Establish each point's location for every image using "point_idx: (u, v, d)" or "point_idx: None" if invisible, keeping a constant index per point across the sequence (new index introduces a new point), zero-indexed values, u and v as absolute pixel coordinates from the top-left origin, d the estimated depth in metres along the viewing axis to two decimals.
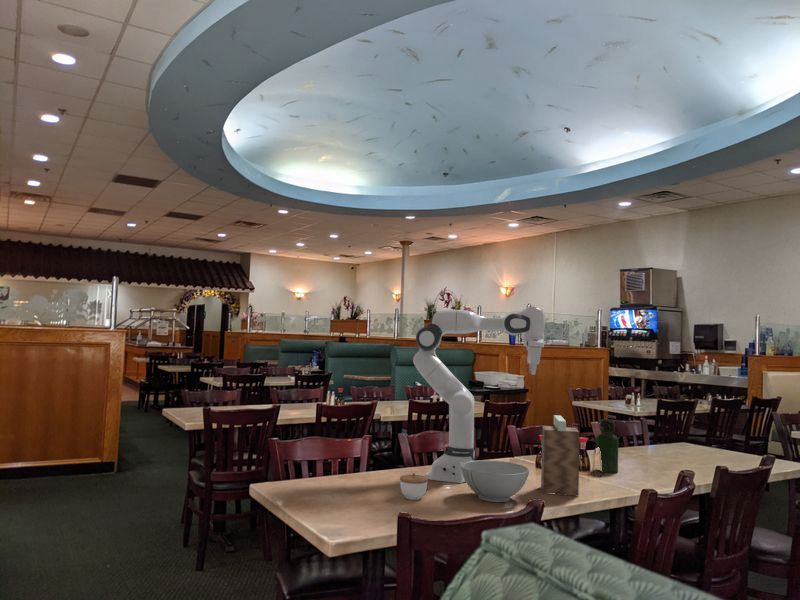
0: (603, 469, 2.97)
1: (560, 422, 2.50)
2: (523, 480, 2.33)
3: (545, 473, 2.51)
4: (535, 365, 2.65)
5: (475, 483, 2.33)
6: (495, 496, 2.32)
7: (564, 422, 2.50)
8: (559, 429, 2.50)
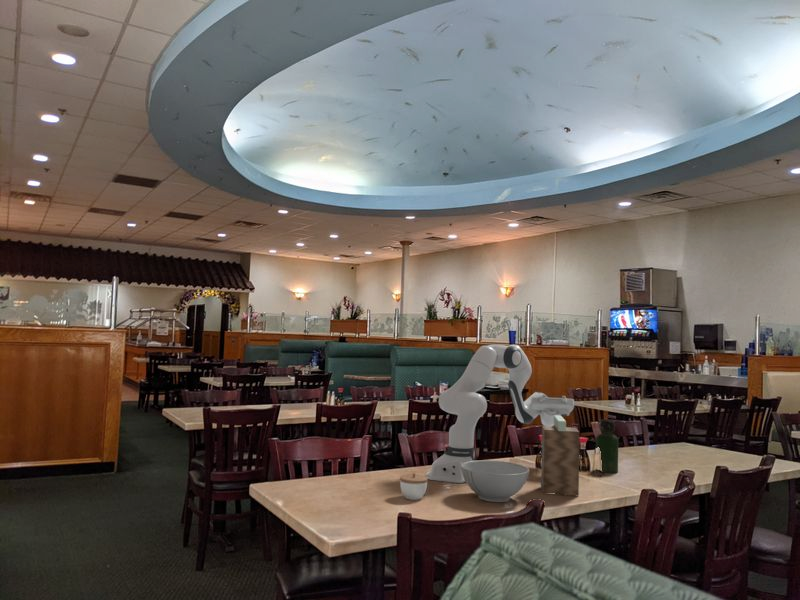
0: (603, 469, 2.97)
1: (560, 422, 2.50)
2: (523, 480, 2.33)
3: (545, 473, 2.51)
4: (567, 401, 2.91)
5: (475, 483, 2.33)
6: (495, 496, 2.32)
7: (564, 422, 2.50)
8: (559, 429, 2.50)
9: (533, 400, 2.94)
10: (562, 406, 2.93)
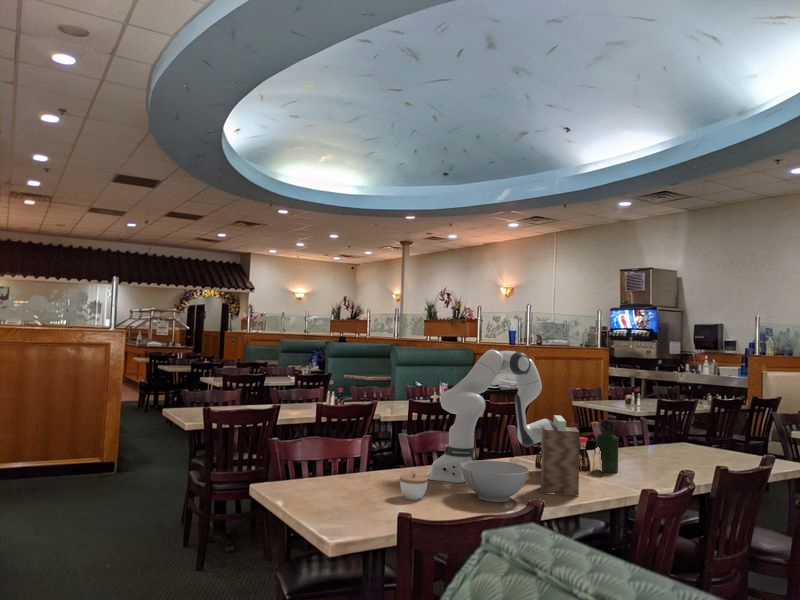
0: (603, 469, 2.97)
1: (560, 422, 2.50)
2: (523, 480, 2.33)
3: (545, 473, 2.51)
4: None
5: (475, 483, 2.33)
6: (495, 496, 2.32)
7: (564, 422, 2.50)
8: (559, 429, 2.50)
9: (534, 430, 2.81)
10: None
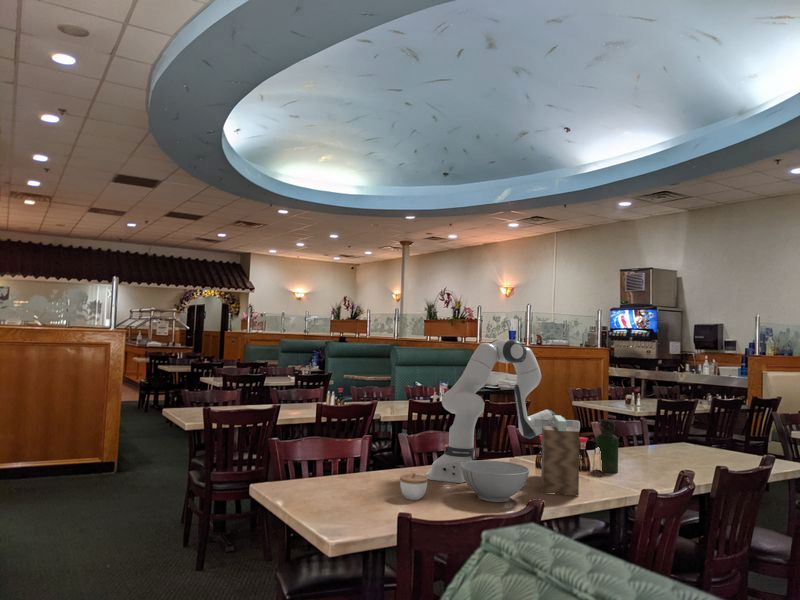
0: (603, 469, 2.97)
1: (560, 422, 2.50)
2: (523, 480, 2.33)
3: (545, 473, 2.51)
4: (566, 423, 2.70)
5: (475, 483, 2.33)
6: (495, 496, 2.32)
7: (564, 422, 2.50)
8: (559, 429, 2.50)
9: (536, 421, 2.72)
10: None
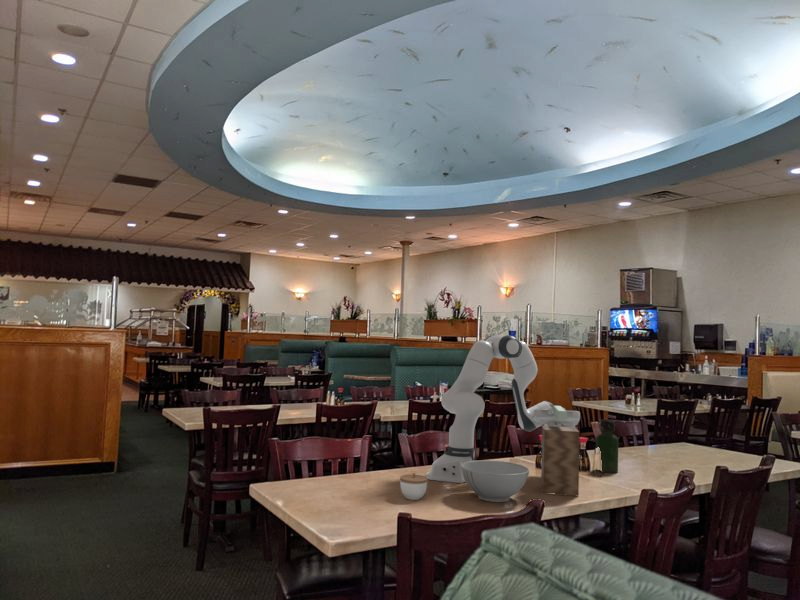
0: (603, 469, 2.97)
1: (560, 412, 2.52)
2: (523, 480, 2.33)
3: (545, 473, 2.51)
4: (566, 413, 2.71)
5: (475, 483, 2.33)
6: (495, 496, 2.32)
7: (564, 412, 2.52)
8: (559, 419, 2.52)
9: (536, 412, 2.74)
10: (567, 419, 2.73)
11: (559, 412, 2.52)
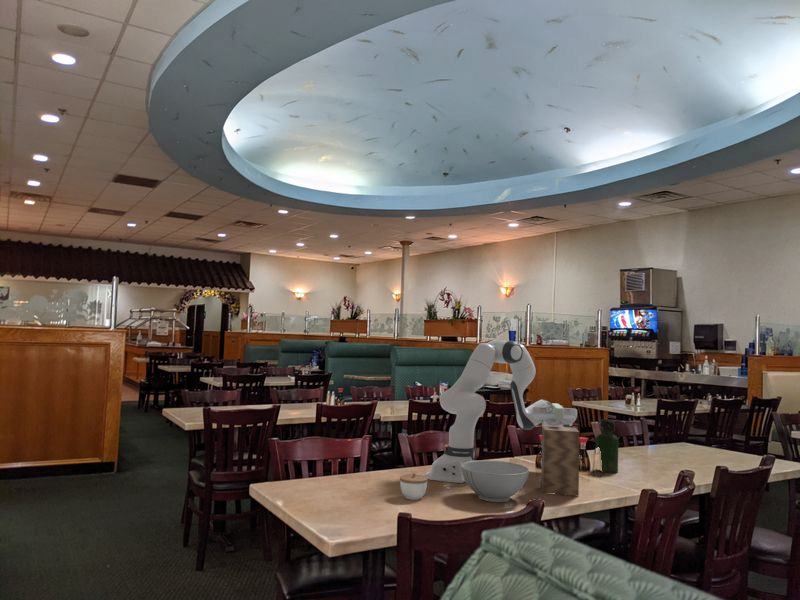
0: (603, 469, 2.97)
1: (558, 409, 2.61)
2: (523, 480, 2.33)
3: (545, 473, 2.51)
4: (564, 411, 2.81)
5: (475, 483, 2.33)
6: (495, 496, 2.32)
7: (561, 409, 2.61)
8: (557, 416, 2.61)
9: (535, 409, 2.83)
10: (564, 416, 2.82)
11: (557, 409, 2.61)
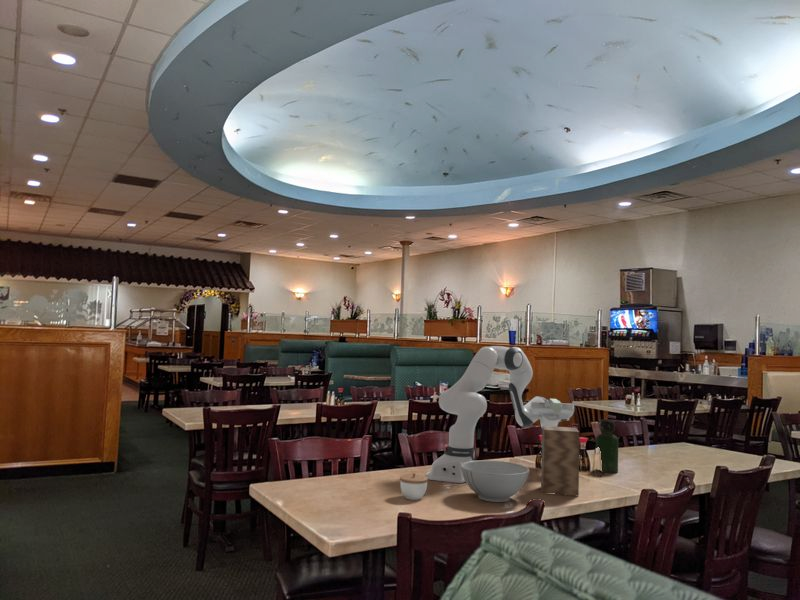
0: (603, 469, 2.97)
1: (555, 404, 2.71)
2: (523, 480, 2.33)
3: (545, 473, 2.51)
4: (561, 406, 2.91)
5: (475, 483, 2.33)
6: (495, 496, 2.32)
7: (559, 404, 2.71)
8: (554, 410, 2.71)
9: (533, 404, 2.93)
10: (562, 411, 2.92)
11: (554, 404, 2.71)
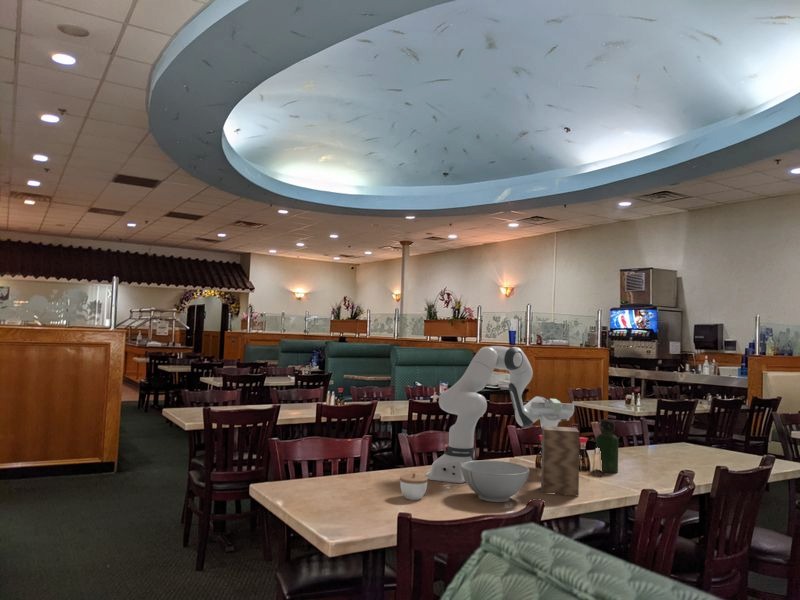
0: (603, 469, 2.97)
1: (555, 404, 2.71)
2: (523, 480, 2.33)
3: (545, 473, 2.51)
4: (561, 406, 2.91)
5: (475, 483, 2.33)
6: (495, 496, 2.32)
7: (559, 404, 2.71)
8: (554, 410, 2.71)
9: (533, 404, 2.93)
10: (562, 411, 2.92)
11: (554, 404, 2.71)
